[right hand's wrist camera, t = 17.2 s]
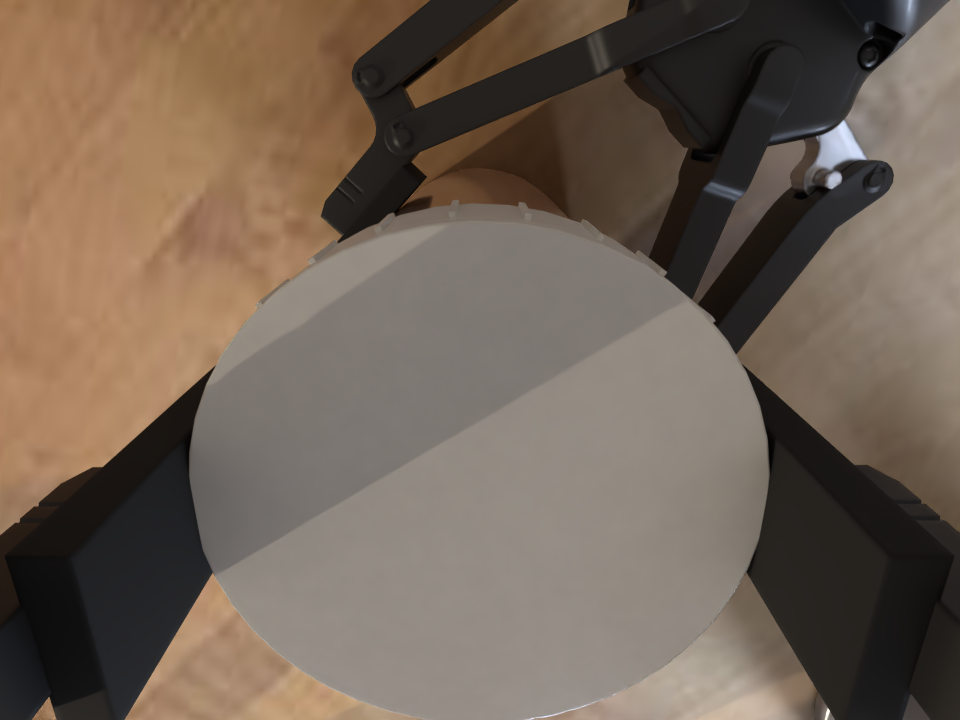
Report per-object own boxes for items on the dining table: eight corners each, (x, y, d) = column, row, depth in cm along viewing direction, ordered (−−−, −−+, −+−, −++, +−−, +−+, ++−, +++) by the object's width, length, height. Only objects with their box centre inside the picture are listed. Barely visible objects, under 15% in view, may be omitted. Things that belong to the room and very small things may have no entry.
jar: (354, 208, 28) (133, 349, 10) (540, 138, 27) (661, 158, 9) (426, 378, 30) (352, 723, 13) (596, 321, 29) (771, 610, 12)
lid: (561, 698, 14) (575, 790, 12) (164, 532, 13) (106, 606, 11) (829, 358, 12) (903, 407, 10) (359, 89, 10) (327, 79, 8)
